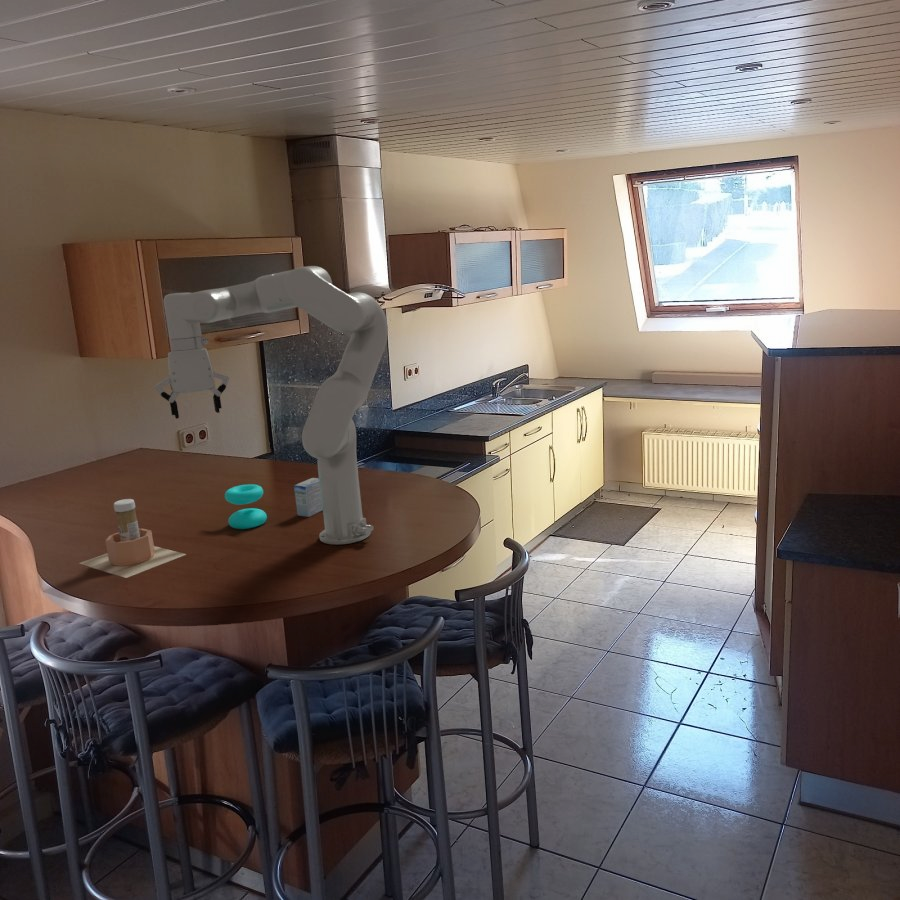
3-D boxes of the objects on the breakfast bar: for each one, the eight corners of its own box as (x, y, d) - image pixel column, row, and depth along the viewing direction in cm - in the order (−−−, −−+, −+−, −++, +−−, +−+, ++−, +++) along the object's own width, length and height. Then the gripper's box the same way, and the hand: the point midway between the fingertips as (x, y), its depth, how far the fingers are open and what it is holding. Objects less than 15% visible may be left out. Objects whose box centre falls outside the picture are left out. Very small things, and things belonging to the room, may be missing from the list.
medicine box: (315, 507, 232) (312, 477, 230) (328, 508, 229) (324, 478, 227) (297, 515, 225) (293, 485, 223) (309, 517, 223) (305, 486, 221)
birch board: (187, 560, 197) (186, 554, 197) (127, 584, 185) (126, 577, 185) (139, 547, 209) (138, 541, 209) (79, 569, 197) (78, 563, 197)
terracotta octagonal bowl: (162, 555, 198) (158, 532, 196) (125, 569, 190) (121, 545, 189) (139, 549, 203) (135, 526, 202) (102, 562, 196) (98, 539, 195)
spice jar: (119, 556, 196) (109, 502, 193) (137, 550, 200) (127, 497, 197) (129, 560, 194) (119, 505, 190) (147, 553, 197) (137, 499, 194)
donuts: (215, 491, 218) (244, 481, 226) (221, 527, 220) (249, 516, 228) (241, 495, 212) (270, 485, 220) (247, 532, 214) (275, 520, 222)
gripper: (221, 339, 206) (230, 407, 210) (148, 348, 200) (159, 417, 204) (225, 342, 199) (235, 411, 203) (150, 350, 193) (161, 422, 197)
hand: (197, 414), depth 203 cm, fingers open, 9 cm apart
